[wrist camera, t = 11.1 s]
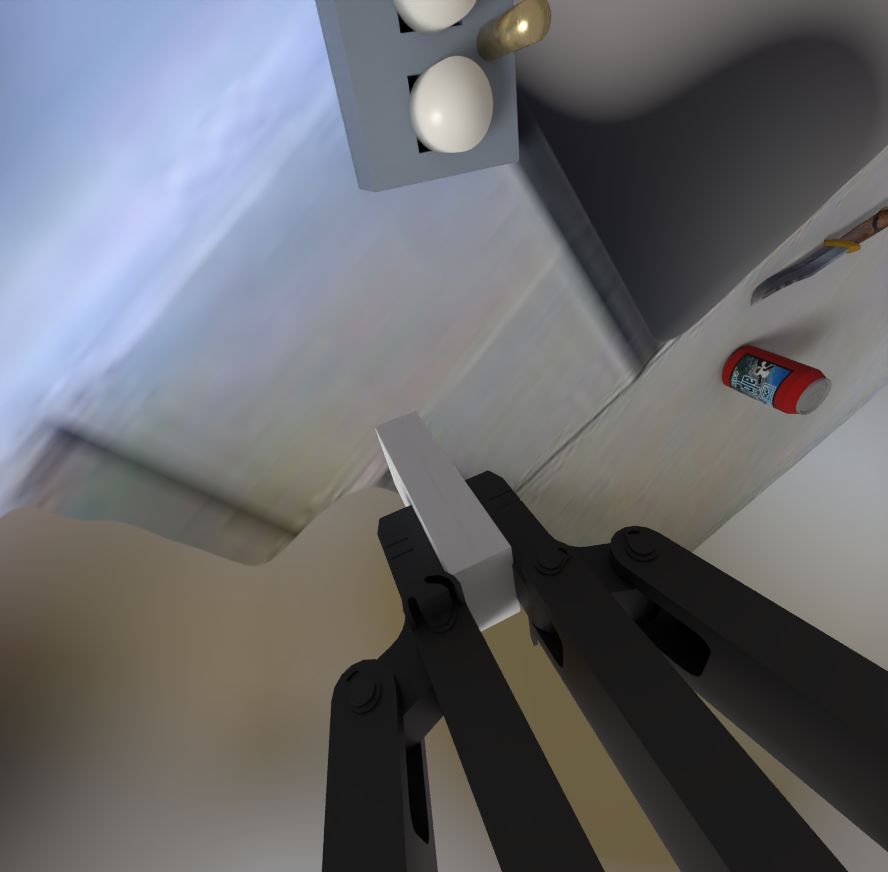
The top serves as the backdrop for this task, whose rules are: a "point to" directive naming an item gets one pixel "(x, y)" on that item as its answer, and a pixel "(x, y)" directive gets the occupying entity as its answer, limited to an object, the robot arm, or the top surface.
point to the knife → (823, 256)
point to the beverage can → (776, 380)
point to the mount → (387, 91)
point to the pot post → (514, 29)
